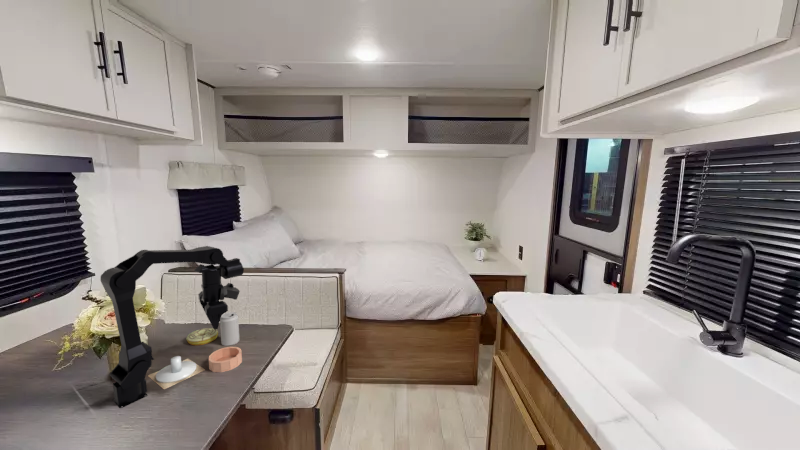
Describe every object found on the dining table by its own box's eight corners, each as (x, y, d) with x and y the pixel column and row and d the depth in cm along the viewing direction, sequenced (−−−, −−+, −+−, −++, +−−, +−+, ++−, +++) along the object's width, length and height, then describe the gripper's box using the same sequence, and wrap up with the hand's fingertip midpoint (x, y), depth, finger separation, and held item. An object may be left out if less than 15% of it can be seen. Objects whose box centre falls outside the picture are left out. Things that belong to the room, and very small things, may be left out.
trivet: (164, 391, 96) (164, 389, 96) (147, 377, 102) (147, 375, 102) (205, 371, 106) (205, 369, 106) (188, 360, 112) (187, 358, 112)
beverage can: (234, 347, 121) (232, 318, 119) (217, 347, 121) (216, 318, 119) (242, 339, 127) (241, 311, 125) (227, 338, 127) (225, 311, 126)
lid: (165, 387, 96) (163, 372, 95) (150, 375, 102) (148, 360, 101) (202, 370, 105) (201, 355, 105) (187, 359, 111) (185, 346, 110)
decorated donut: (202, 333, 132) (202, 324, 131) (224, 336, 130) (223, 327, 129) (180, 345, 122) (180, 336, 121) (203, 349, 119) (202, 340, 119)
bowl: (219, 377, 103) (218, 366, 102) (203, 367, 108) (203, 356, 108) (247, 362, 111) (247, 352, 111) (232, 353, 117) (231, 343, 116)
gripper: (243, 285, 107) (244, 328, 109) (231, 272, 121) (232, 310, 123) (206, 291, 100) (207, 337, 102) (197, 277, 114) (199, 317, 116)
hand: (213, 324), depth 111 cm, fingers open, 9 cm apart
